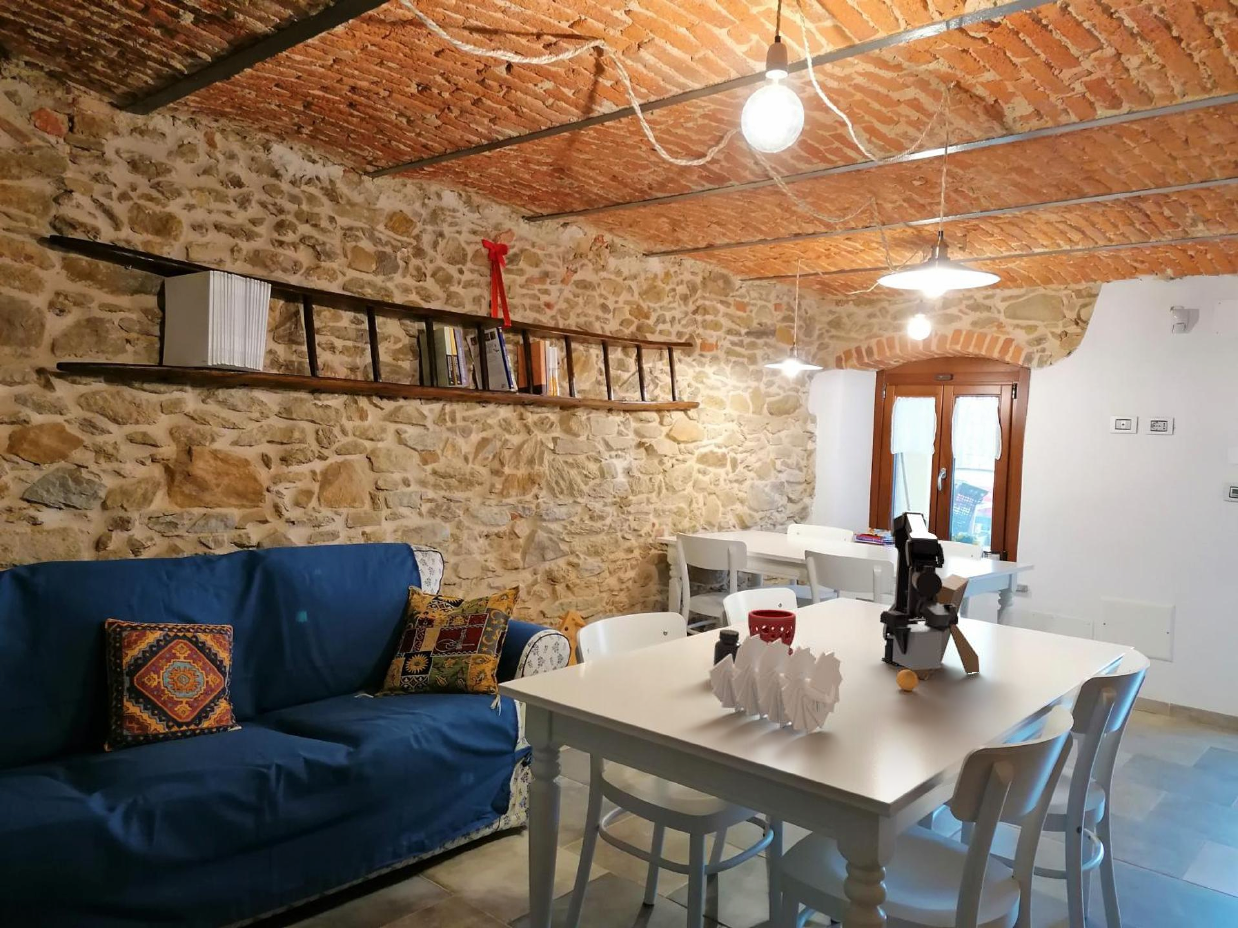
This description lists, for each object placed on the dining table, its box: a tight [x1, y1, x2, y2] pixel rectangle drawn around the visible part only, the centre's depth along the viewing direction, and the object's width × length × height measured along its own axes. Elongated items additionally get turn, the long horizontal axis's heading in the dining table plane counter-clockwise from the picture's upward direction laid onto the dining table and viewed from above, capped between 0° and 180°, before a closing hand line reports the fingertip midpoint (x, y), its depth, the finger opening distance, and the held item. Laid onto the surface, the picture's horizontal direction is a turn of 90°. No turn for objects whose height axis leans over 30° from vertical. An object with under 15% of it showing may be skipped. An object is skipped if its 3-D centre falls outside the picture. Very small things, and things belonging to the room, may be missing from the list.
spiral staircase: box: [708, 634, 843, 736], centre depth 180 cm, size 18×18×25 cm
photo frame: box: [909, 573, 980, 680], centre depth 224 cm, size 15×22×25 cm
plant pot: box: [747, 609, 797, 657], centre depth 236 cm, size 13×13×12 cm
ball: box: [895, 669, 919, 692], centre depth 207 cm, size 5×5×5 cm
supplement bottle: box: [712, 629, 742, 668], centre depth 211 cm, size 7×7×12 cm
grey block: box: [892, 623, 942, 670], centre depth 205 cm, size 8×8×9 cm
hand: (917, 653), depth 204 cm, fingers closed on grey block, 8 cm apart
